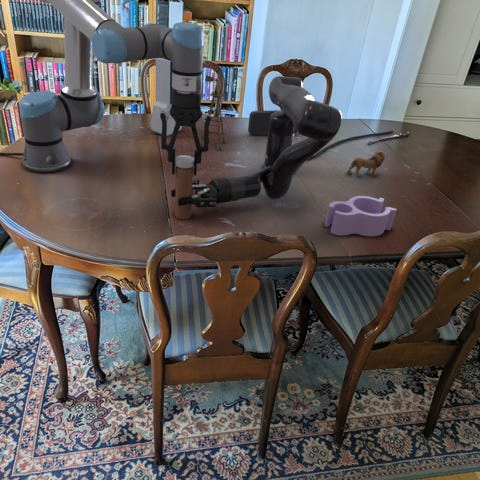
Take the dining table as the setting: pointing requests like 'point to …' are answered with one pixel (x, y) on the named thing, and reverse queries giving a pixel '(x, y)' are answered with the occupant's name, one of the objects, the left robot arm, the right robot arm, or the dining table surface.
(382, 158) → the lion figurine
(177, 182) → the jar
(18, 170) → the dining table surface
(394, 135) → the sword
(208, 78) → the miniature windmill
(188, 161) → the lid
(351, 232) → the clip
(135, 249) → the dining table surface
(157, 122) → the electronic device
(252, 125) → the handheld gaming console
